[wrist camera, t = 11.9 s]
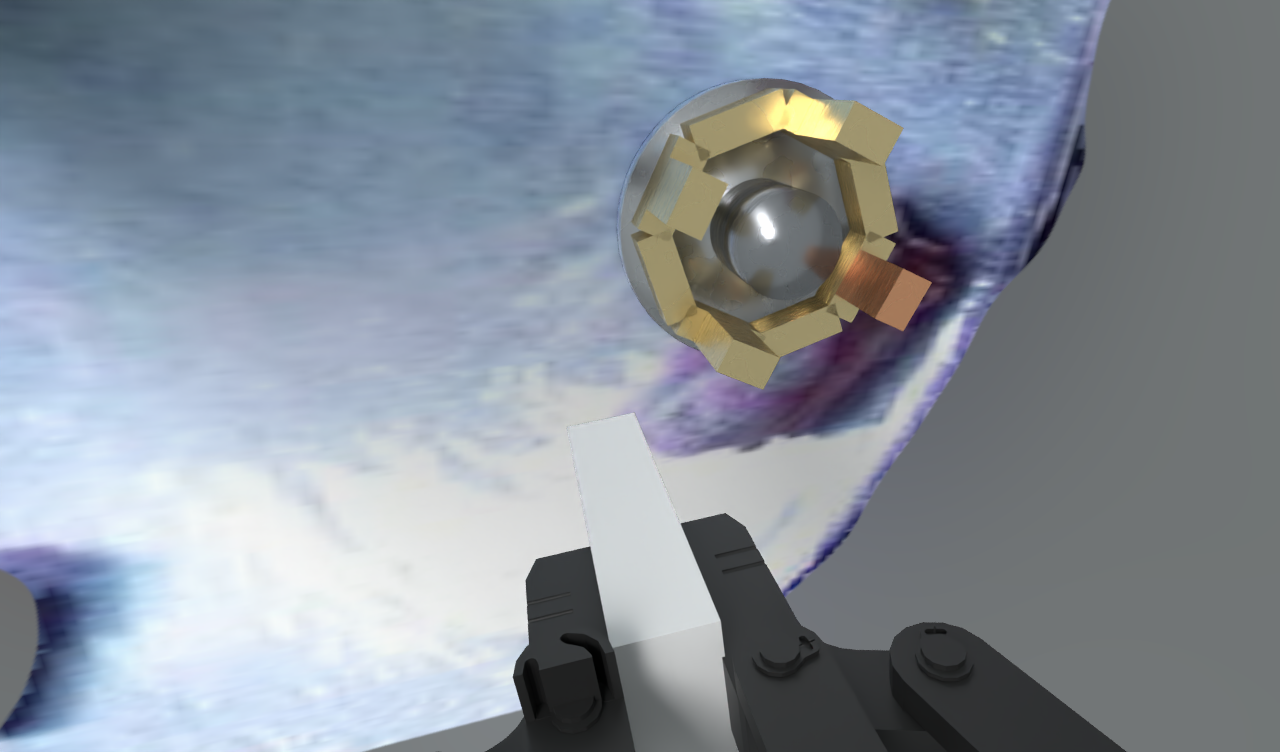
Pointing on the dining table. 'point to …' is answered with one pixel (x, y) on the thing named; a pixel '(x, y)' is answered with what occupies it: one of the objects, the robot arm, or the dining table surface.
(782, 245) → the silver round piece
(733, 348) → the gold crown
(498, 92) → the dining table surface
